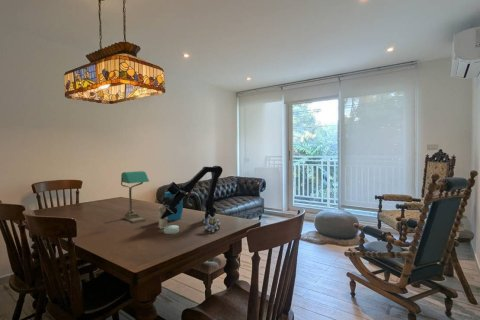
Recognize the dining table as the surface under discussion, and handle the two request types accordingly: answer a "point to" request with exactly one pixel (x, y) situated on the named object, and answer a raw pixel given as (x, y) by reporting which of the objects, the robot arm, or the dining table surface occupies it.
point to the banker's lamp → (130, 178)
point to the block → (178, 207)
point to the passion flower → (211, 223)
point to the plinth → (171, 229)
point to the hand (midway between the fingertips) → (160, 217)
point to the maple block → (160, 212)
